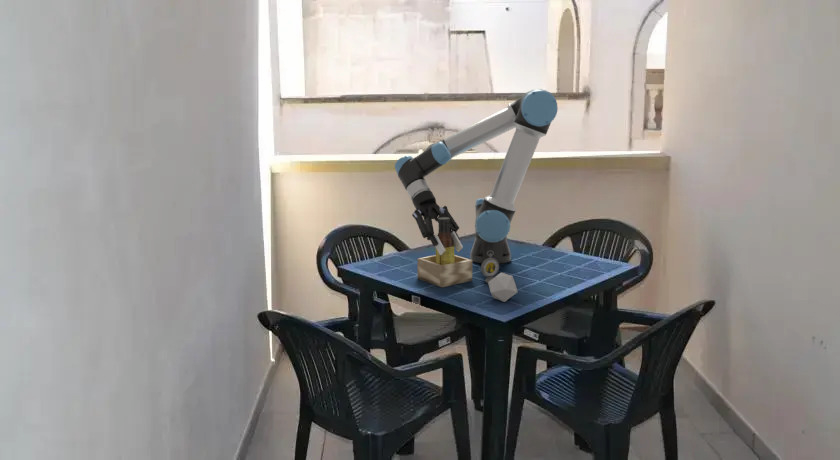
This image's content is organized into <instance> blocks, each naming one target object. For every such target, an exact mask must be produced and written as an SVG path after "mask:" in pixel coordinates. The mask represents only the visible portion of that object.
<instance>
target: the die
mask: <svg viewBox="0 0 840 460" xmlns="http://www.w3.org/2000/svg"><path fill="white" fill-rule="evenodd" d="M493 277H494V278H493V279H492V280H490V281H489V282H488V283H487V284H488V287H489V291H490V294H491V296H492V298H493V299H495V300H498V301H500V302H503V303H505V302H507V301H508V300H509V299H510V298H512V297H513V296H515V295H516V294H517V293H519V292H518V289H517V285H516V282H515V280H514V277H513V275H510V274H507V273H505V272H500V273H497V274H496V275H495V276H493Z"/></svg>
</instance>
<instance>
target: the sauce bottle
mask: <svg viewBox="0 0 840 460" xmlns="http://www.w3.org/2000/svg"><path fill="white" fill-rule="evenodd" d="M437 218H438V217H437ZM437 223H438V233H437V235H438V237H439V239H440V241H441V243H442V245H443V247H444V248H445V250H446V251H445V252H444V253H443V254H442V255H440V254H439V252H438V251H437V249H436V248H435V255H436V263H437V264H440V265H446V264H451V263H455V258H454V255H455V246H454V241H453V238H452V235H451V232H450V218H448V217H441V218H438V222H437Z"/></svg>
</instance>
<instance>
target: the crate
mask: <svg viewBox="0 0 840 460" xmlns="http://www.w3.org/2000/svg"><path fill="white" fill-rule="evenodd" d="M454 258H455V263H451V264H446V265H440V264H437V263H436V254H433V255H428V256H424V257H419V258H417V280H421V281H423V282H425V283H428V284H431V285H435V286H437V287H439V288H445V287H450V286H455V285H458V284H459V285H460V284H463V283H468V282H472V281H473V261H472V260H471V259H470V258H466V257H463V256H460V255H456V254H454Z"/></svg>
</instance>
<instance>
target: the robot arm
mask: <svg viewBox="0 0 840 460" xmlns="http://www.w3.org/2000/svg"><path fill="white" fill-rule="evenodd" d="M557 113H558V103H557V99H556V98H555V96H554V95H553V94H552V93H551V92H550V91H548V90H546V89H542V88H537V89H531V90H528V91H527V92H526V93H524V94H523V95H521V96H520V97H518V98H517V99H516V100H514V101H512V102H510V103H508V104H507V107H506V108H503V109H502V110H500V111H498V112H496V113H493V114H492V115H490V116H488V117H486V118H483V119H482V120H480V121H478V122H476V123H473V124H471V125H469V126H468V127H465V128H463V129H461V130H459V131H457V132H455V133H452V134H451V135H448V136H446V137H445V138H444V139H442V140H439V141H437V142H435V143H431V144H430V145H428V146H427V148H426V149H425V150H424V151H422V152H421V153H420V154H419V155H417V156H415V157H412V156H411V155H405V156H402V157H401V156H400V158H399V159H398V160H396V162H395V163H394V169H395V171H396V174H397V177H398V178H399V180H400V182H401V183H402V186H403V187H404V189H405V191H406V194H407V195H408V196H409V198H410V200H411V201H412V204H413V206H414V208H415V209H414V212H413V213H412V215H411V216H412V217H413V218H414V220H415V222H416V224H417V227H418V229H419V232H420V233H421V236H422V238H424V239H426V240H427V241H430V242H431V244H432V246H433V247H434V248H435V250H436V249H437V251H438V252H439V254H440V255H442V254H443V253H444V252H445V251H446V250H445V248H444V247H443V245H442V243H441V241H440V239H439V237H438V233H437V234H435V230H434V226H433V220H434V221H435V222H437V223H438V218H441V217H448V218H450V232H451V235H452V238H453V241H454V249H455V250H456V251H457V252H458V253H460V252H461V251H462V249H463V248H464V246H463V244H462V242H461V241H460V240H461V238H460V236H459V234H458V233H457V232H458V231H459V229H460V226H459V224H458V223H457V222H456V220H455V219H454V217H453V215H451V213H450V212H449V209H448V206H446V205H443V207H442V206H440V205H439V204H438V203H437V199H436V196H435V195H434V193H433V191H432V190H431V188H430V186H429V184H428V183H427V180H426V179H425V178H426V177H427V176H428V175H430V174H432V173H433V172H435V171H436V170H438V169H439V168H441V167H442V166H444V165H446V164H447V163H449V162H450V161H451V160H452V159H453V158H455V157H457V156H459V155H461V154H463V153H465V152H467V151H470V150H472V149H474V148H476V147H478V146H480V145H482V144H484V143H486V142H488V141H490V140H492V139H494V138H497V137H498V136H501V135H503V134H505V133H507V132H509V131H511V130H514V129H515V131H514V133H513V136H512V139H511V142H510V144H509V147H508V149H507V152H506V154H505V156H504V159H503V162H502V164H501V167H500V169H499V172H498V174H497V177H496V179H495V182H494V184H493V188H492V190H491V193H490V194H489V195H486V196H485V197H484V198H477V199H476V200H475V206H474V208H475V216H474V217H475V219H474V220H475V221H474V222H475V223H474V228H475V229H474V233H475V234H474V235H475V237H474V241H473V244H472V248H471V250H470V253H469V254H470V255H469V256H470V257H469V259H470V260H472V262H474V263H477V264H482V263H483V262H484V260H486V259H487V258H490V256H488V255H490V253H491V254H493V252H494V254H493V255H492V256H491V258H494V259H496V260H497V261H498V263H499V265H501V264H506V263H509V262H510V261H511V260H512V253H511V250H510V247H509V246H510V245H509V243H508V240H507V239H508V234H509V233H510V230H511V223H512V220H513V218H514V215H515V213H516V211H517V208H516V206H515V201H516V198H517V196H518V193H519V191H520V189H521V186H522V183H523V181H524V179H525V176H526V173H527V171H528V169H529V166H530V164H531V161H532V159H533V156H534V154H535V152H536V149H537V146H538V144H539V141H540V139H542V138H543V137H545V136H546V135H547V133H548V132H549V129H550V126H551V124H552V122H553V121H554V120H555V118H556V116H557ZM488 251H489V252H488ZM492 251H493V252H492ZM487 252H488V253H487ZM487 254H488V255H487Z"/></svg>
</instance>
